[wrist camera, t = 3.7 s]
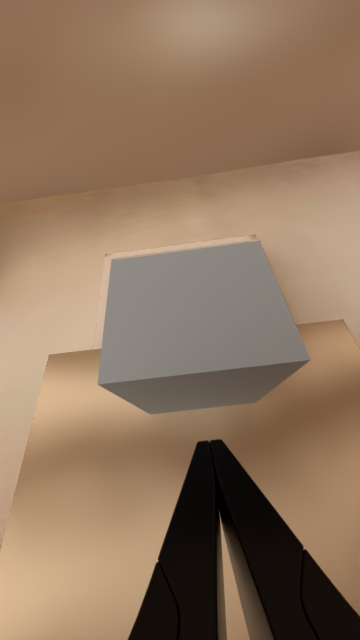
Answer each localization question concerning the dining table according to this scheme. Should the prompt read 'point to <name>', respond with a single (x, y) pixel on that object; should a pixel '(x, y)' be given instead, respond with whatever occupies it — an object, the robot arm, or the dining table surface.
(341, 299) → the dining table surface
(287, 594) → the robot arm
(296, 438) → the wood grain box
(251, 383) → the block
